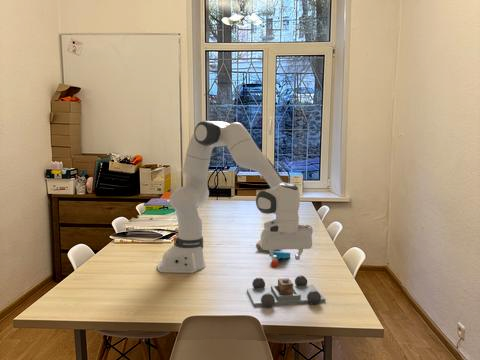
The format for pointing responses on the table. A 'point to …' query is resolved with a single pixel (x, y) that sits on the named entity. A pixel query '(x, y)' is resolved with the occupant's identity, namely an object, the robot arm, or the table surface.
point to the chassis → (272, 296)
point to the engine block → (285, 286)
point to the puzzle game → (260, 247)
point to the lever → (279, 255)
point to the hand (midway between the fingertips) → (285, 259)
